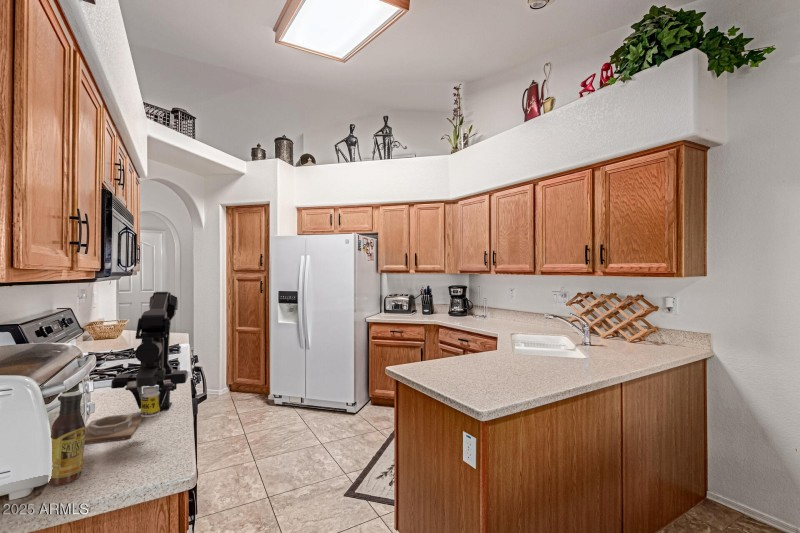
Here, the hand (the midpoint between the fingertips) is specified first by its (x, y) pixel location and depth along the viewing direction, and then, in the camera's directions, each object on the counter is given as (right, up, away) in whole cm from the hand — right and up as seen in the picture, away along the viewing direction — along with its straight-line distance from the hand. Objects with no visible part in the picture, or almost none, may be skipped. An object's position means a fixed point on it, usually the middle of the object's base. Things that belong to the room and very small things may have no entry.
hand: (150, 407), depth 114 cm
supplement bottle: (0, -2, 0) cm, 2 cm away
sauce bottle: (-3, -8, -25) cm, 27 cm away
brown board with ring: (-14, -8, +2) cm, 16 cm away
